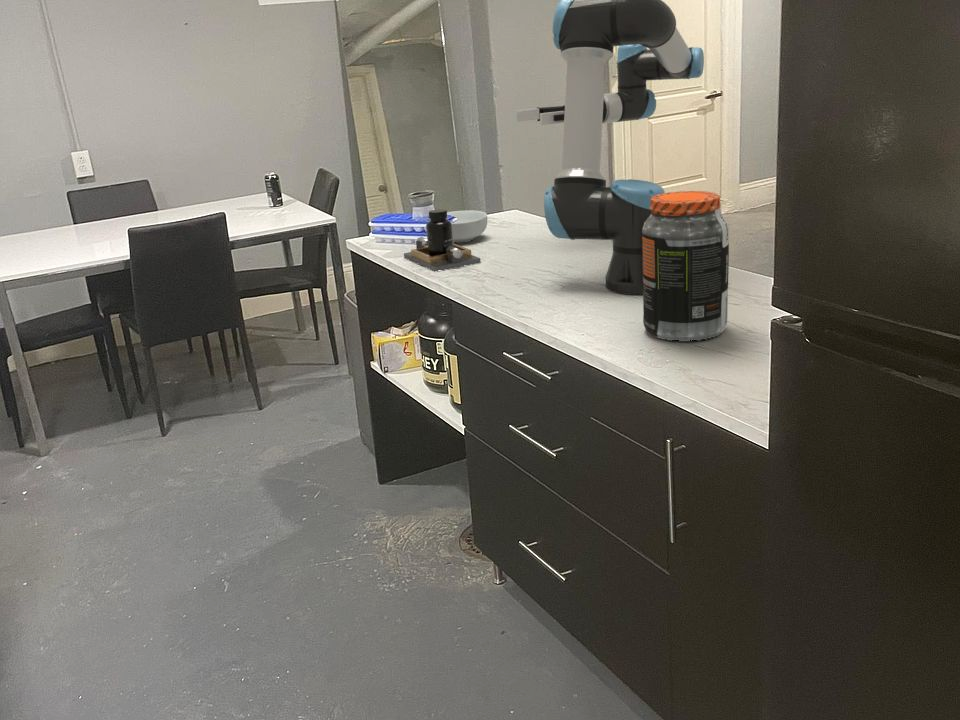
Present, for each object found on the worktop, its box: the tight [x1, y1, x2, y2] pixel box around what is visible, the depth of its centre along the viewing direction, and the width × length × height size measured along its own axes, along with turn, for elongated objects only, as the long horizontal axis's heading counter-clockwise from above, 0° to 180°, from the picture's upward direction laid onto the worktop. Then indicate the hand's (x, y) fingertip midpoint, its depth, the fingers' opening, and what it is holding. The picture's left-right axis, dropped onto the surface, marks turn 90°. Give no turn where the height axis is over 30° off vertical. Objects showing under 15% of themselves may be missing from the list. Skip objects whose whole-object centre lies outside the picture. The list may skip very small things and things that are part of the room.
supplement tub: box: [642, 190, 730, 342], centre depth 169 cm, size 16×16×26 cm
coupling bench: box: [403, 236, 482, 272], centre depth 239 cm, size 21×13×5 cm, turn 28°
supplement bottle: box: [425, 208, 454, 256], centre depth 237 cm, size 7×7×12 cm
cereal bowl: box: [447, 209, 488, 243], centre depth 260 cm, size 17×17×7 cm
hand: (528, 117), depth 228 cm, fingers open, 13 cm apart
